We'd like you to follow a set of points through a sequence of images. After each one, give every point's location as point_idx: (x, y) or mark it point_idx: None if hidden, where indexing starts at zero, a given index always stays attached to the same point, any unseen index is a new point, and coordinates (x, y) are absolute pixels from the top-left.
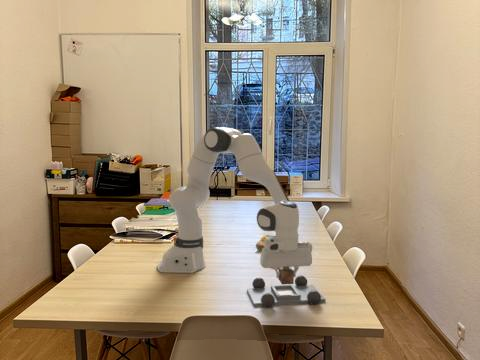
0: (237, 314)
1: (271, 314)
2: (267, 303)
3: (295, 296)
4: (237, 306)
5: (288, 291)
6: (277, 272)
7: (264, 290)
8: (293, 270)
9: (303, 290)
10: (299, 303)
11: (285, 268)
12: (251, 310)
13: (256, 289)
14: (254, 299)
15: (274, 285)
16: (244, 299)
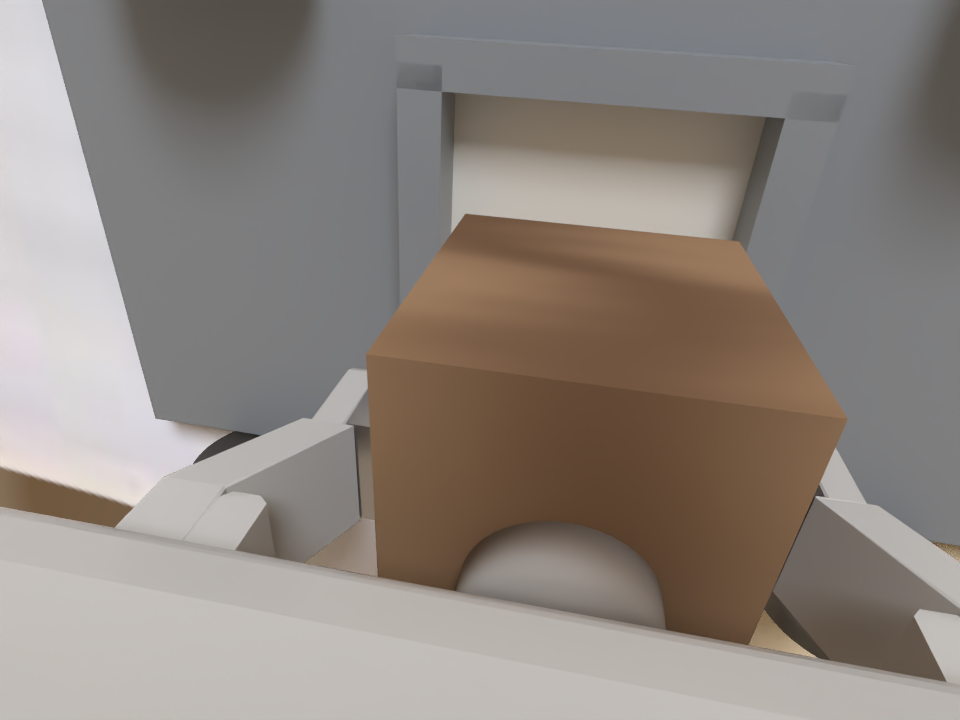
0: (50, 479)
1: (318, 556)
2: None
3: None
4: (22, 352)
5: (664, 222)
6: (303, 546)
7: (300, 82)
8: (839, 532)
9: (948, 237)
10: None
11: None
12: (156, 455)
13: (176, 6)
14: (156, 334)
15: (462, 56)
16: (65, 212)
